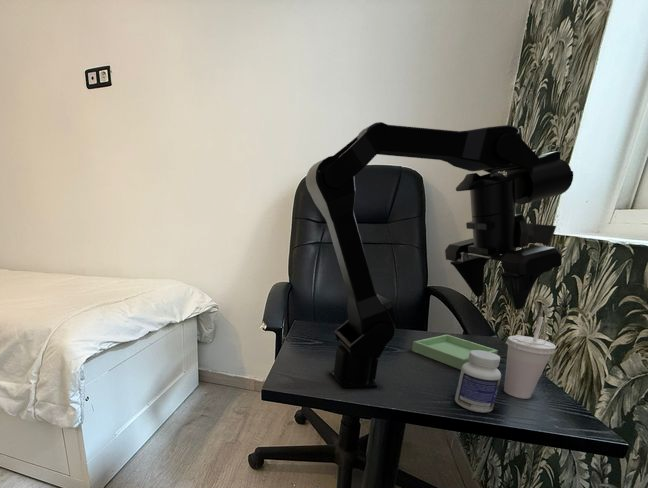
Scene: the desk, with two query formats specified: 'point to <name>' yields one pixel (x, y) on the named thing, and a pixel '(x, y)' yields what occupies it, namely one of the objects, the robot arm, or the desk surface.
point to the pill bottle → (479, 382)
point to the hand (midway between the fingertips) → (497, 302)
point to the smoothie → (526, 363)
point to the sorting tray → (448, 349)
